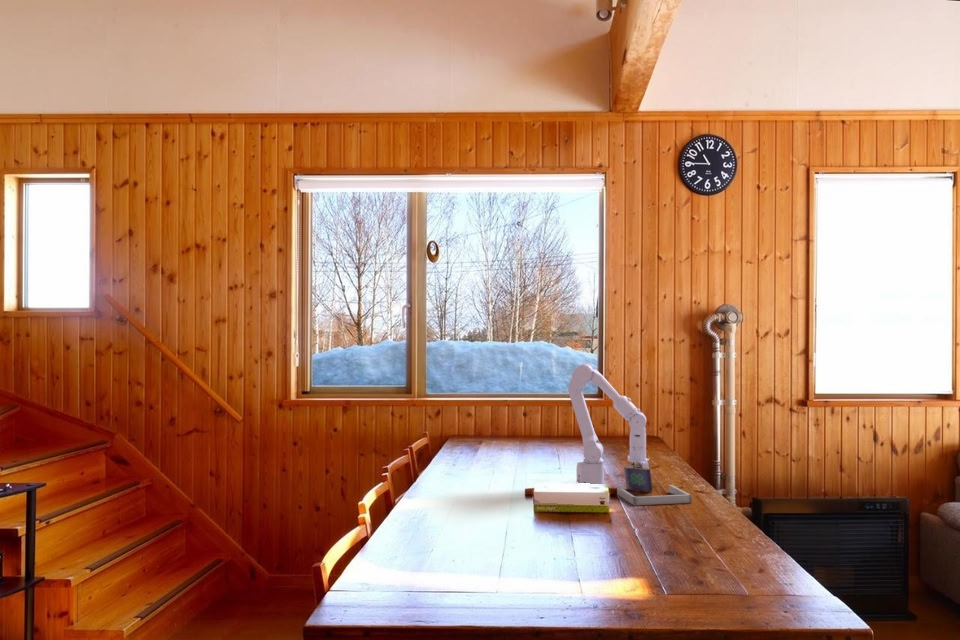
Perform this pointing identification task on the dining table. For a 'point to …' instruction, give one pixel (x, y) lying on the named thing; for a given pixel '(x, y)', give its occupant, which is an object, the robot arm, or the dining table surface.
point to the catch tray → (657, 497)
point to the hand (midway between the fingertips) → (637, 485)
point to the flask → (638, 478)
